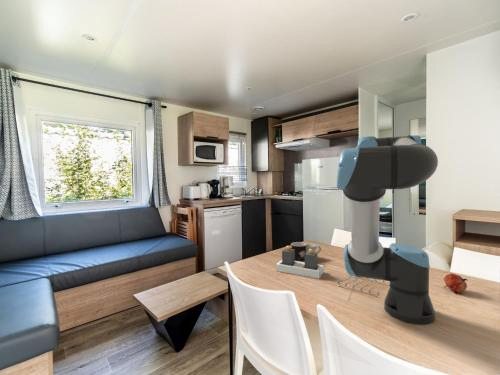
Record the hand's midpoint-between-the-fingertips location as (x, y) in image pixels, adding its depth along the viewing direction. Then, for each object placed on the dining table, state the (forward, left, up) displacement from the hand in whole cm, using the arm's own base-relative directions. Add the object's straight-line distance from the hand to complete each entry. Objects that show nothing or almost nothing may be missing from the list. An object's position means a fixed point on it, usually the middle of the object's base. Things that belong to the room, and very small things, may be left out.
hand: (367, 218), depth 114 cm
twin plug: (-4, +25, -28) cm, 38 cm away
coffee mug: (+11, +38, -29) cm, 49 cm away
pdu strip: (-4, +31, -29) cm, 42 cm away
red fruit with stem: (+5, -32, -29) cm, 43 cm away
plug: (-4, +37, -28) cm, 47 cm away
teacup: (+19, +33, -29) cm, 48 cm away
